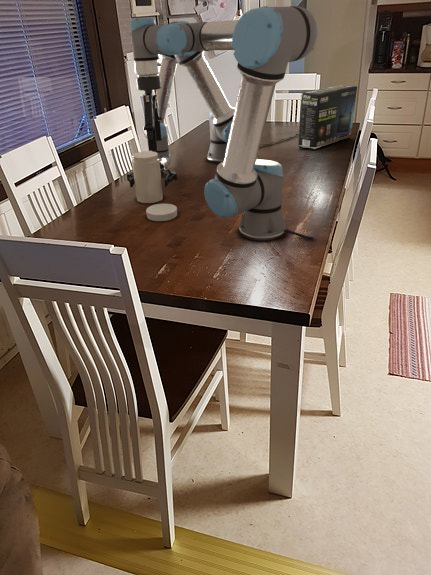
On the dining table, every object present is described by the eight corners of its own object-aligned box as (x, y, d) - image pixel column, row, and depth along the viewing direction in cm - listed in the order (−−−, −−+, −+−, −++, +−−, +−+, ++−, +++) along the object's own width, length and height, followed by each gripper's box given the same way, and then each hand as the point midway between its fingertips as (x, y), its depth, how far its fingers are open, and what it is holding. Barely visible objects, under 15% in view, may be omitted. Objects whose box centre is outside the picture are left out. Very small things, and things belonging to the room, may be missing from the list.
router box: (314, 151, 231) (318, 94, 217) (296, 148, 237) (299, 92, 224) (352, 138, 251) (358, 85, 238) (335, 135, 258) (340, 83, 245)
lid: (169, 207, 172) (169, 201, 171) (182, 216, 164) (182, 210, 162) (142, 213, 167) (141, 207, 166) (154, 223, 159) (153, 217, 158)
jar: (138, 204, 175) (133, 159, 166) (135, 196, 184) (129, 152, 175) (165, 201, 178) (161, 156, 169) (160, 192, 186) (156, 149, 177)
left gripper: (187, 175, 195) (181, 192, 177) (129, 176, 197) (117, 193, 179) (186, 158, 191) (179, 173, 173) (127, 159, 193) (114, 174, 175)
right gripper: (155, 79, 131) (163, 154, 141) (164, 70, 152) (170, 136, 163) (129, 80, 131) (138, 155, 142) (141, 71, 152) (149, 137, 163)
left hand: (148, 183), depth 176 cm, fingers open, 13 cm apart
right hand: (155, 145), depth 152 cm, fingers open, 13 cm apart
